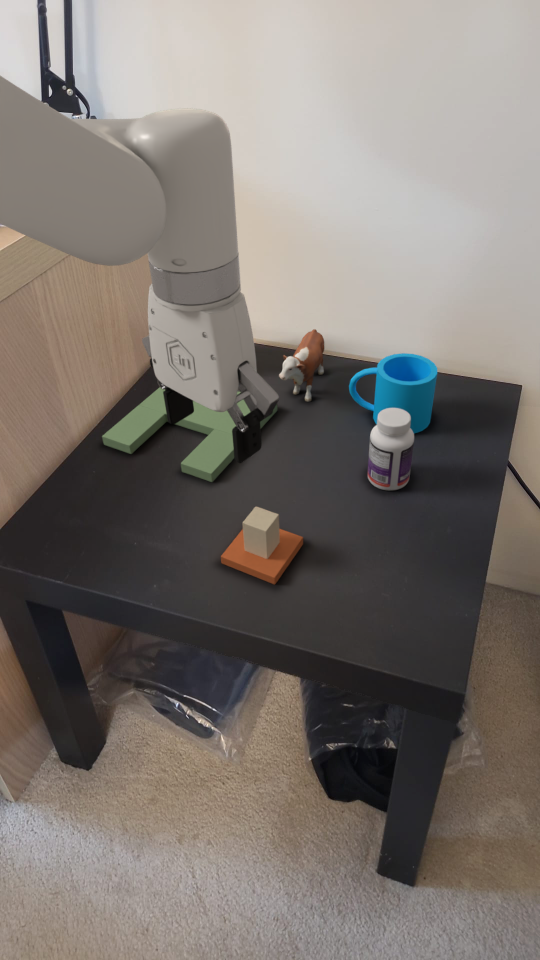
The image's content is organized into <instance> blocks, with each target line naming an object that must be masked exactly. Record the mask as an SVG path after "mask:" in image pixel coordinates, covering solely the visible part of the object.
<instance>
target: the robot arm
mask: <svg viewBox="0 0 540 960" xmlns="http://www.w3.org/2000/svg"><path fill="white" fill-rule="evenodd" d="M232 149H233V148H232V139H231V132H230V130H229V126H228V124H227V123H226V121H225V120H224V119H223V117H221V116H220V115H219V114H217V113H216V112H214V111H213V112H212V111H209V110H206V109H201V108H192V107H191V108H188V107H187V108H171V109H164V110H159V111H155V112H154V111H153V112H151V113H149V114H146V115H144V116H142V117H139V118H138V117H137V118H70V117H68V116H66V115H65V114H63V113H61V112H60V111H58V110H56V109H54V108H53V107H51V106H50V105H48V104H46V103H45V102H43V101H42V100H39V99H38V98H36V96H34V95H31V94H30V93H29V92H27V91H25V90H24V89H22V88H21V87H19V86H17V85H16V84H15V83H13V82H11V81H9V80H8V79H6V78H5V77H4V76H2V75H0V225H2V226H4V227H6V228H9V229H10V230H13V231H15V232H17V233H18V234H19V233H20V234H21V235H24V236H26V237H28V238H30V239H33V240H35V241H37V242H40V243H42V244H44V245H47V246H49V247H51V248H52V249H53V248H54V249H55V250H58V251H60V252H62V253H65V254H67V255H70V256H72V257H74V258H77V259H79V260H82V261H84V262H87V263H91V264H94V265H100V266H106V267H107V266H108V267H110V266H111V267H113V266H123V265H128V264H131V263H133V262H135V261H138V260H140V259H141V258H142V257H144V256H146V255H147V257H148V258H147V259H148V266H149V273H150V279H151V284H150V285H149V287H148V297H147V323H148V335H146V336H144V337H143V338H141V341H142V345H143V347H144V349H145V351H146V354H147V355H148V357H149V358H150V359H149V365H150V367H151V368H152V370H153V372H154V375H155V377H156V379H157V384H158V388H159V387H160V388H161V389H163V390H164V389H165V391H163V395H164V401H165V407H166V413H167V419H168V422H167V423H169V424H170V425H176V423H178V422H179V421H181V420H182V419H184V418H186V417H187V416H189V415H191V414H192V413H193V412H194V405H193V401H195V402H197V403H199V404H201V405H203V406H205V407H207V408H209V409H211V410H214V411H217V412H225V411H228V413H229V415H230V416H231V418H232V420H233V421H234V423H235V425H236V426H235V427H234V428H233V429H232V436H233V447H234V461H236V462H237V463H239V464H243V462H245V461H246V460H248V459H249V458H251V457H252V456H253V455H255V454H256V453H258V452H259V451H260V450H261V448H262V431H261V429H262V428H260V422H261V421H262V420H264V419H265V418H267V417H268V416H270V415H271V414H272V413H273V410H274V408H275V406H276V404H277V405H278V402H279V400H280V396H279V394H278V392H276V391H275V389H274V388H273V387H272V386H271V385H270V384H269V383H268V382H267V381H266V380H265V379H264V378H263V377H262V376H261V375H260V374H259V373H258V368H257V356H256V348H255V341H254V339H255V338H254V334H253V328H252V324H251V318H250V313H249V310H248V304H247V300H246V297H245V294H244V293H242V292H241V290H242V286H241V270H240V256H239V255H240V254H239V253H240V252H239V243H238V227H237V226H238V225H237V212H236V211H237V210H236V198H235V197H236V196H235V182H234V168H233V167H234V166H233V165H234V164H233V150H232ZM237 391H238V392H241V393H239V394H238V395H237ZM241 400H244V401H245V403H246V405H247V406H248V408H249V410H250V413H248V414H247V415H245V416H244V415H243V413H242V412H241V410H240V408H239V406H238V405H237V403H238V402H240V401H241Z"/></svg>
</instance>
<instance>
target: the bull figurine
mask: <svg viewBox="0 0 540 960" xmlns="http://www.w3.org/2000/svg"><path fill="white" fill-rule="evenodd" d="M325 348H326V347H325V339H324V337H323V334H321V333H320V332H318V330H317V329H315V328H314V329H312V330H311V331H308V332H307V333H305V334H304V336H303V337H302V339H301V341H300V343H299V344H298V346H297V348H296V350H295V351H294V353H293V355H290V356H286V355H285V354H283V355H282V359H283V360H284V361H283V362H282V370H281V372H279V374H278V378H280V379H281V380H282V381H287V380H293V384H294V388H293V390H292V394H293V395H299V394H300V391H301V386H302V385H303V383H304V382H306V385H305V388H306V392H305V396H304V401H305V402H311V401H312V393H311V390H312V388H313V381H314V374H315V371H316V370H317V369H318V370H317V374H318V375H319V376H320V375H321V376H322V375H324V373H325V370H324V352H325Z"/></svg>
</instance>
